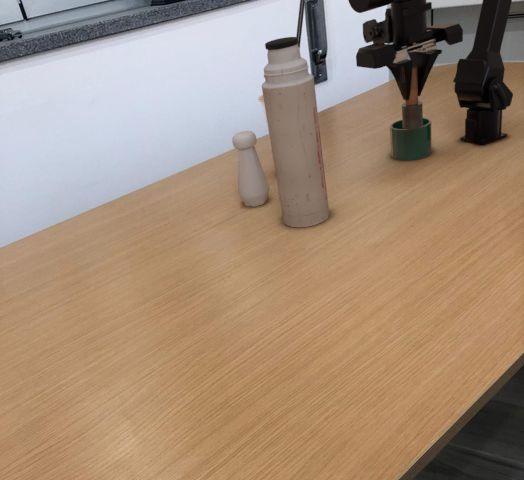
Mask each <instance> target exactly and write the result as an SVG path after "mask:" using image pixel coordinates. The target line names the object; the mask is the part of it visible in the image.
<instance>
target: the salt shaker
mask: <svg viewBox="0 0 524 480" xmlns="http://www.w3.org/2000/svg"><path fill="white" fill-rule="evenodd" d="M257 139H258V138H257V135H256V133H255V132H254V131H252V130H242V131H239V132H236V133H235V134H234V135H233V136H232V137H231V143H232V146H233V148H234V149H235V150H237V193H238V196H239V198H240V199H241V200H242V202H243V203H244V205H245V207H253V208H254V207H258V206H261V205H264V204H265V203H266V202H267V201H268V197H269V193H270V192H269V191H270V186H269V183H268V180H267V177H266V175H265V172H264V169H263V166H262V163H261V161H260V157H259V155H258V151H257V149H256V147H255V146H256V145H257V142H258V140H257Z"/></svg>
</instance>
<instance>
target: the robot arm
mask: <svg viewBox="0 0 524 480" xmlns="http://www.w3.org/2000/svg"><path fill="white" fill-rule="evenodd" d="M347 1H348V3H349V6H350V7H351V9H352V10H353V11H354V12H356V13H358V14H362V13H365V12H368V11H372V10H376V9H379V8H382V7H385V6H388V5H390V7H388V8H385V12H384V16H385V17H384V20H381V21H377V20H376V18H373V19H369V20H366V21H364V22H363V23H362V36H363V40H364V42H365V43H366V44H368V45H365V46H362V47H359V48H358V50H357V52H356V55H355V61H356V62H355V63H356V67H358V68H364V69H365V68H366V69H374V70H376V69H381V68H384V67H386V68H387V69H388V70H389V71H390V73H391V74H392V76H393V78H394V80H395V82H396V84H397V87H398V90H399V92H400V94H401V97H402V99H403V101H405V100H409V96H410V91H411V79H412V68H413V66H415V67H417V78H418V97H420V96H421V95H422V92H423V90H424V87H425V85H426V83H427V80H428V78H429V76H430V74H431V71H432V68H433V67H434V65H435V63H436V61H437V59H438V57H439V55H441V54H442V53H443V49H437V44H438V43H440V42H444V41H445V43H446V44H447V45H448V46H453V45H455V44H456V45H457V44H458V43H462V42H463V41H464V29H463V27H462V26H461V25H460V23H455V22H454V23H453V22H451V23H450V22H440V23H437V24H434V25H430V26H428V18H427V17H428V16H427V15H428V14H427V11H429V10H432V9H433V5H432V4H433V2H432V1H427V0H347ZM512 1H513V0H482V2H481V6H480V7H481V8H480V12H479V17H478V22H477V25H476V31H475V35H474V39H473V43H472V48H471V51H470V52H469V53H468V54H467V56H466V57H465V58H459V60H458V61H457V64H456V71H455V72H456V73H455V76H454V78H453V80H452V83H454V87H453V88H454V89H453V90H454V94H455V95H456V98H457V101H458V105H459V108H462V109H463V108H465V109H466V118H465V119H464V135H463V136H461V137H460V140H461V141H464V142H468V143H471V144H476V145H479V146H480V145H481V146H485V145H487V144H490V143H493V142H496V141H499V140H501V139H504V138H507V137H508V133H506V132H503V131H502V128H503V127H502V125H503V111H505V110H507V108H508V107H510V106H511V104H512V102H513V101H512V100H513V97H514V93H513V92H512V90H510V88H509V87H508V85H506V83H505V82H504V77H505V71H506V69H505V65H504V61H503V57H502V54H501V49H502V45H503V41H504V35H505V32H506V27H507V24H508V19H509V15H510V11H511V6H512ZM369 43H372V44H369ZM408 57H409V59H408Z"/></svg>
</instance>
